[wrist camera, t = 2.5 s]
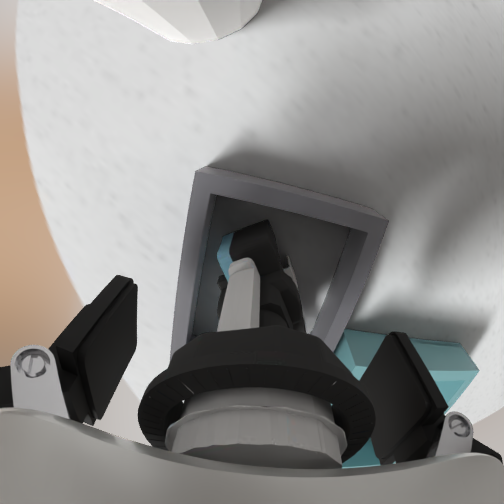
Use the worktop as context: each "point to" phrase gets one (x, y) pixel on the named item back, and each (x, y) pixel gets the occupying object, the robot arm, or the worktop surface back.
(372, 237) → the box
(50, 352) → the robot arm
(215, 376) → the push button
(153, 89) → the worktop surface
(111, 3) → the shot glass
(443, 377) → the tray
